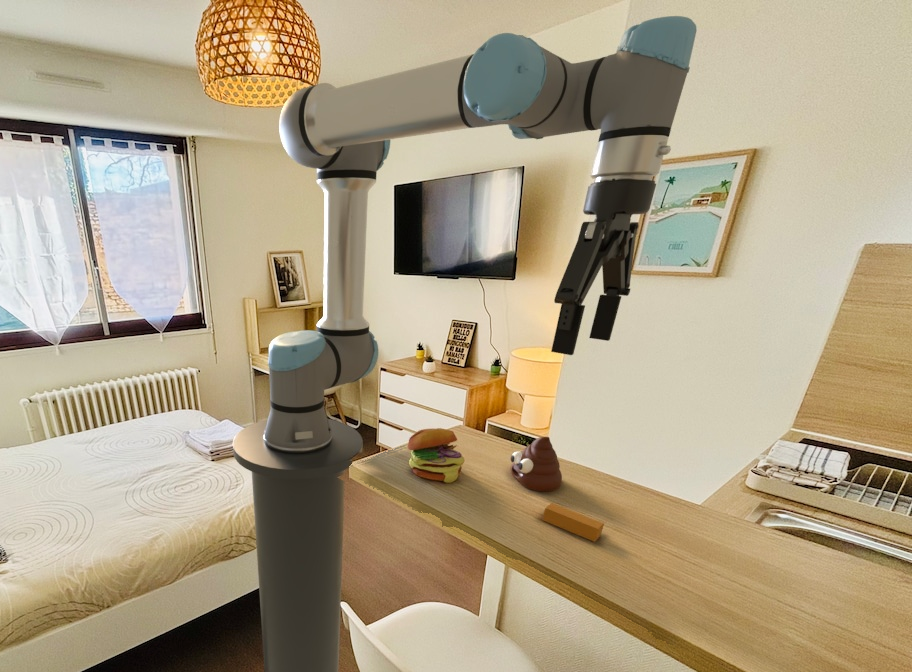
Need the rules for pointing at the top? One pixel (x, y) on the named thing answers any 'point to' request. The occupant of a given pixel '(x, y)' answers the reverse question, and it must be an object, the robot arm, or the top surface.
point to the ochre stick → (573, 522)
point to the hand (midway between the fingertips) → (581, 345)
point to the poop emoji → (537, 466)
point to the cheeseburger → (435, 455)
